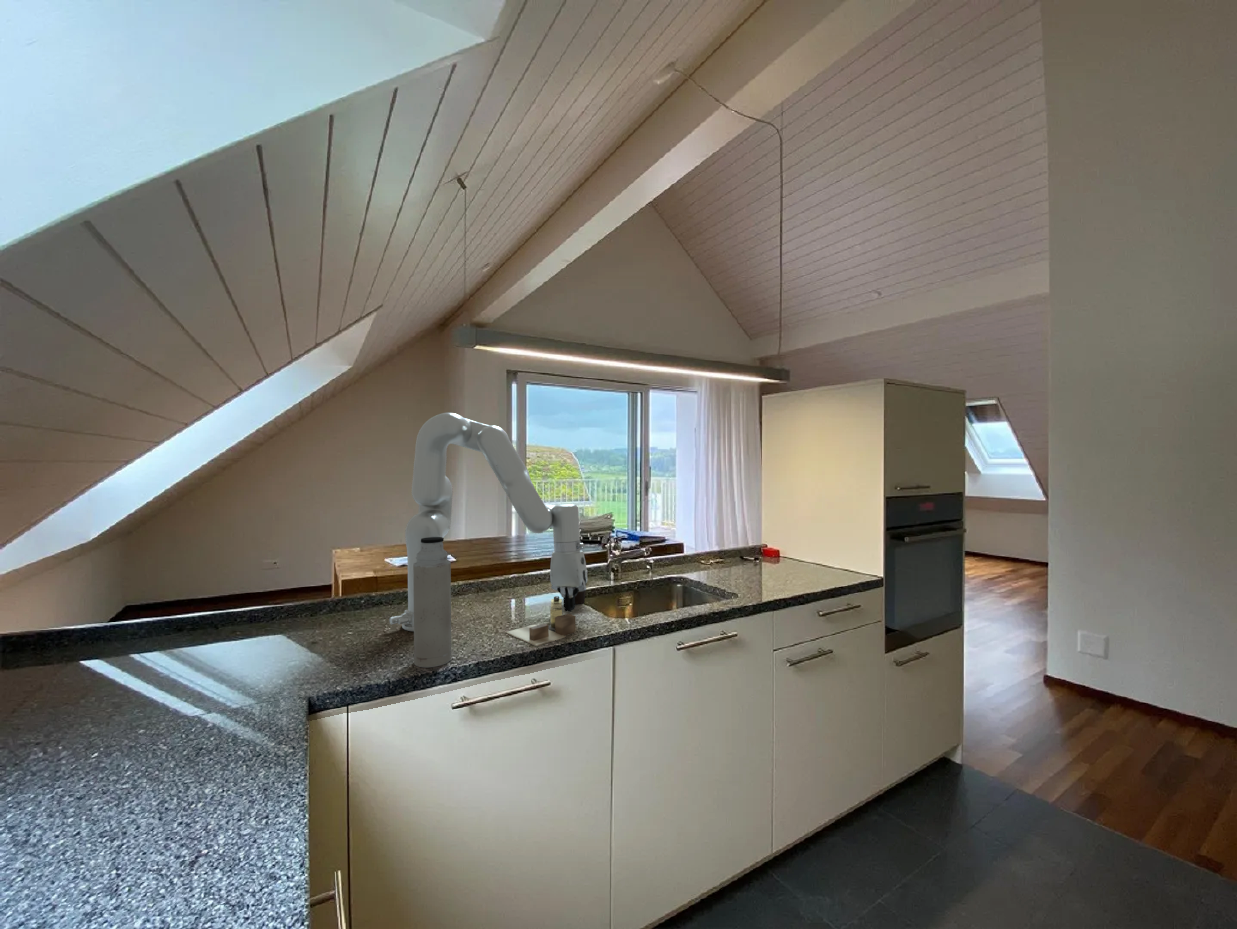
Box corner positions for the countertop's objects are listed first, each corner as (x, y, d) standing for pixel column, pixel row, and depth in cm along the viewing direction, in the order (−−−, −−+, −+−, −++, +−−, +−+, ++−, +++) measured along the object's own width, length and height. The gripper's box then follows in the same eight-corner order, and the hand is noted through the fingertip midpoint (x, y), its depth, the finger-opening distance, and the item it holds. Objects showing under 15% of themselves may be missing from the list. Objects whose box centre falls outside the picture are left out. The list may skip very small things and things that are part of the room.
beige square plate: (536, 646, 124) (536, 645, 124) (506, 633, 134) (506, 632, 134) (581, 632, 134) (581, 631, 134) (550, 621, 144) (550, 620, 144)
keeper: (533, 642, 127) (533, 629, 127) (529, 640, 128) (529, 627, 128) (548, 637, 130) (548, 625, 130) (544, 636, 132) (544, 623, 132)
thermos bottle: (406, 663, 114) (405, 538, 114) (435, 652, 121) (434, 534, 121) (430, 670, 110) (429, 541, 110) (458, 658, 117) (457, 536, 117)
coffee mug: (586, 605, 160) (586, 574, 160) (559, 606, 160) (559, 574, 160) (589, 596, 171) (589, 566, 172) (564, 596, 172) (563, 567, 172)
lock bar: (562, 627, 137) (562, 607, 137) (550, 627, 136) (550, 607, 136) (562, 613, 149) (562, 595, 149) (551, 614, 149) (551, 595, 149)
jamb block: (562, 636, 131) (562, 619, 131) (555, 633, 133) (555, 617, 133) (575, 632, 134) (575, 615, 134) (568, 630, 136) (568, 613, 136)
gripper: (595, 545, 147) (598, 608, 147) (550, 544, 153) (552, 605, 153) (585, 549, 140) (587, 616, 140) (537, 548, 146) (540, 612, 146)
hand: (569, 610), depth 147 cm, fingers closed
